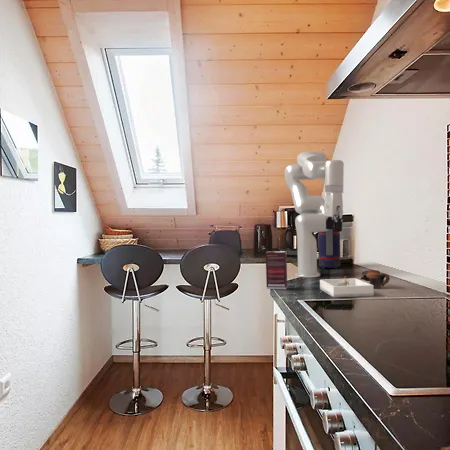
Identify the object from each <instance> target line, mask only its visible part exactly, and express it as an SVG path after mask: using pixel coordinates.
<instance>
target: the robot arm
mask: <svg viewBox="0 0 450 450" xmlns="http://www.w3.org/2000/svg"><path fill="white" fill-rule="evenodd" d="M344 168H345V167H344V161H343V160H340V159H331V160H330V159H329V160H328V158H327V155H326V154H325V153H324V152H323V151H320V150H317V151H313V150H311V151H309V150H307V151H306V150H305V151H302V152H300V153H299V154H298V155H297V157H296V163H292V164H289V165H287V166H286V167H285V169H284V180H285V183H286V185H287V188H288V189H289V191H290V193H291V198H292V203H293V207H294V210H295V212H296V213H297V214H299V215H297V216H296V217H295V220H294V222H295V223H294V224H295V229H296V239H297V240H296V241H297V245H296V246H297V272H294V275H295V277H298V278H318V277H320V276H321V273H320V272H318V257H317V256H318V253H317V252H318V251H317V250H318V248H317V247H318V246H317V244H318V243H317V238H316V237H315V236H314V234H313V233H319V232H325V231H328V230H329V229H333V220H332V219H333V216H334V219H335V222H334V231H335V232H336V231H340V232H343V218H344V217H343V215H344V208H343V207H344V205H343V204H344V202H343V194H344V173H345V172H344V171H345V170H344ZM316 179H317V180H318V179H321V180H322V179H324V194H325V196H324V197H322V196H321V195H310V194H309V192H308V189H307V187H306V185H305V184H304V183H302V182H301V181H305V180H307V181H308V180H309V181H310V180H312V181H313V180H316Z"/></svg>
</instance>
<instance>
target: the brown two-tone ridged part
mask: <svg viewBox="0 0 450 450" xmlns="http://www.w3.org/2000/svg"><path fill="white" fill-rule="evenodd" d="M390 279H391V277H390V275H389V274H387V273H382V274H381V272H380V271H379V270H376V269H371V270H365V271H363V272H362V273H361V276H360V279H359V280H361V281H364V282H368V283H369V284H371V285H373V289H378V290H379V289H380V290H381V288H382V287H384V286H385V285H387V284H388V283H389V282H390Z"/></svg>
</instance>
